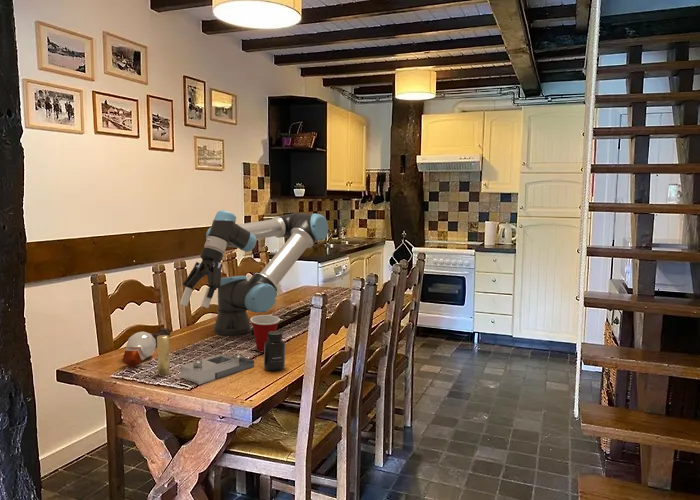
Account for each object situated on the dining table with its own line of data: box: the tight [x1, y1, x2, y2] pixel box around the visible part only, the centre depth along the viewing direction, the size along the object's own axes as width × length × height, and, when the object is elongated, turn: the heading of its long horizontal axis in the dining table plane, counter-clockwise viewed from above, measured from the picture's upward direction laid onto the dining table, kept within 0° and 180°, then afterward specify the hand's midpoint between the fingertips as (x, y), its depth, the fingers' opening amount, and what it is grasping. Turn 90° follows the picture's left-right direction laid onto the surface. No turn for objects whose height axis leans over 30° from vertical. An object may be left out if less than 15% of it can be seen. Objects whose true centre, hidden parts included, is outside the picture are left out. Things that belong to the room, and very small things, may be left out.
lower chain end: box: [215, 353, 255, 380], centre depth 165 cm, size 16×9×4 cm, turn 143°
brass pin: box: [156, 335, 171, 376], centre depth 160 cm, size 4×4×12 cm
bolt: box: [150, 328, 171, 349], centre depth 195 cm, size 6×5×15 cm
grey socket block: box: [180, 353, 239, 386], centre depth 160 cm, size 16×9×6 cm, turn 143°
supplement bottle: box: [263, 330, 286, 372], centre depth 167 cm, size 7×7×12 cm
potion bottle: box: [121, 331, 157, 368], centre depth 172 cm, size 9×10×15 cm
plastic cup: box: [249, 314, 281, 353], centre depth 187 cm, size 11×11×12 cm
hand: (193, 306), depth 179 cm, fingers open, 13 cm apart
